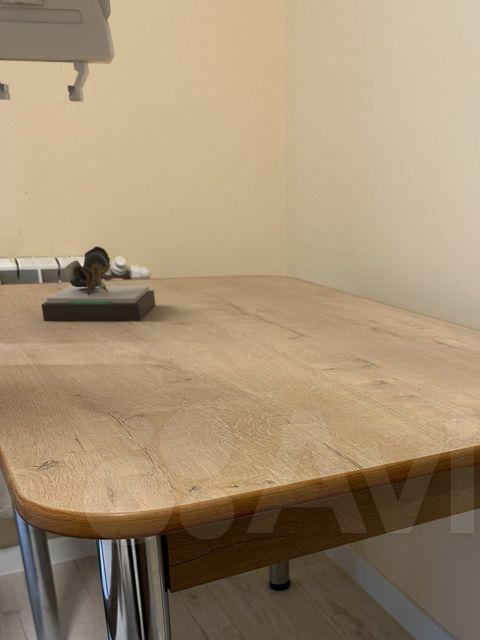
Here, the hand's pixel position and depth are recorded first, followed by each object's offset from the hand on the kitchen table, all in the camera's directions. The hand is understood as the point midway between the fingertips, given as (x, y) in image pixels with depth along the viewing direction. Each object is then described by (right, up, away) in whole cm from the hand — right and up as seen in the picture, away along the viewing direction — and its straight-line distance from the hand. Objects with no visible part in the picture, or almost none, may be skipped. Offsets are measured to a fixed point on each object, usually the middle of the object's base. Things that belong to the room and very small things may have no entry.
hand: (40, 100), depth 94 cm
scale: (+2, -24, +18) cm, 30 cm away
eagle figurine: (+1, -21, +17) cm, 27 cm away
